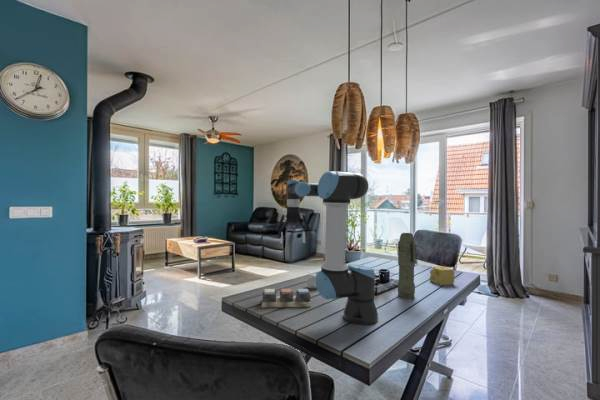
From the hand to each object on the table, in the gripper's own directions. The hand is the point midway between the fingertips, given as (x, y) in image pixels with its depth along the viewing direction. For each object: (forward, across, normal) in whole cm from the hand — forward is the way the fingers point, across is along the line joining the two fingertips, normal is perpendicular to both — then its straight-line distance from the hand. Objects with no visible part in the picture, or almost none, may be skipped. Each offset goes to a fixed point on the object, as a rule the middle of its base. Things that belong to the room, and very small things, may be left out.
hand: (292, 243), depth 167 cm
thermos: (+28, -58, +26) cm, 70 cm away
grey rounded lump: (+28, -14, -2) cm, 31 cm away
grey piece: (+28, +8, +20) cm, 35 cm away
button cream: (+24, +17, +18) cm, 34 cm away
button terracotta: (+24, +9, +20) cm, 32 cm away
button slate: (+24, 0, +22) cm, 33 cm away
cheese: (+28, -98, +9) cm, 103 cm away
